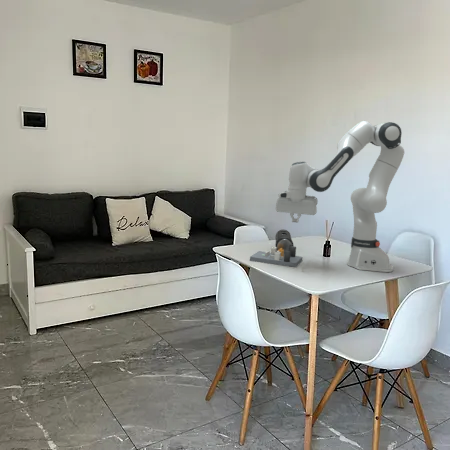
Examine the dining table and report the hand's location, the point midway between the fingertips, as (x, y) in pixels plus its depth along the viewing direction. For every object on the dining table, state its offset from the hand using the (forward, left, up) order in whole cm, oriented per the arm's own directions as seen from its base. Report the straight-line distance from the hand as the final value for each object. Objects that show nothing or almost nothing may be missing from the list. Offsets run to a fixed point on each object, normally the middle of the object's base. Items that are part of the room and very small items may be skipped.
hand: (295, 222), depth 229 cm
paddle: (+7, 0, -19) cm, 20 cm away
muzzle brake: (+11, -20, -21) cm, 31 cm away
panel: (+9, 0, -21) cm, 23 cm away
